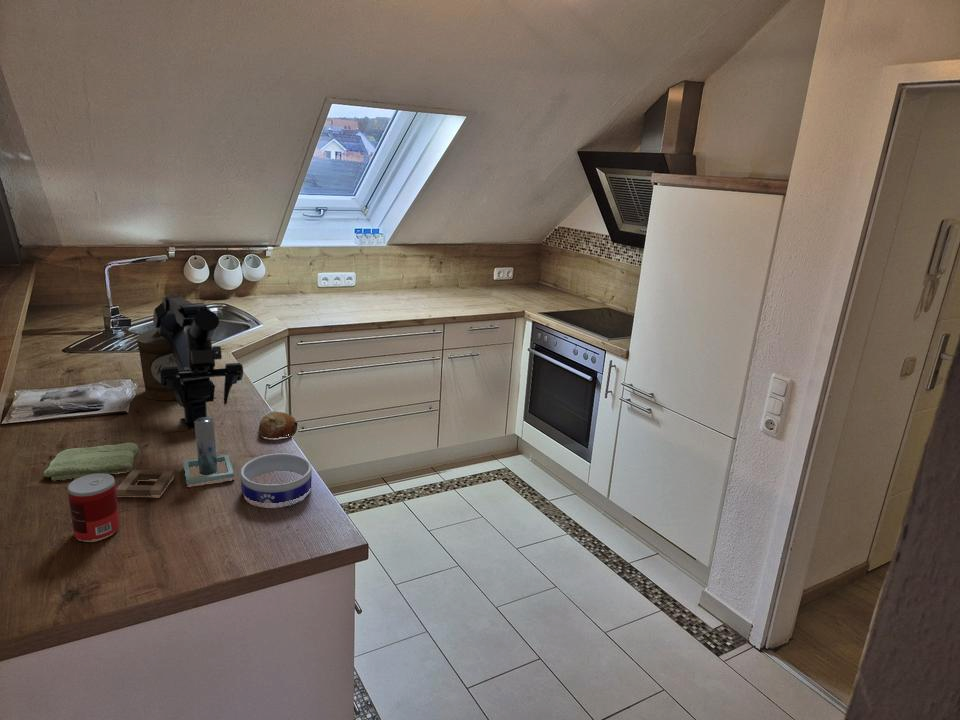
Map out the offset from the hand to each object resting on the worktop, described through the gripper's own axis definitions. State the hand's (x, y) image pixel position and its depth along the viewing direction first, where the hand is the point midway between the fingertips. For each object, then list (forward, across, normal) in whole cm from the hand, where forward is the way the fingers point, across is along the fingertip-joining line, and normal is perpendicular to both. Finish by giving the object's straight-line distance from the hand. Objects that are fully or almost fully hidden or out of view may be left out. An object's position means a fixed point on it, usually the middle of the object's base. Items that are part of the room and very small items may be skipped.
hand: (205, 406), depth 157 cm
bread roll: (+5, +18, +14) cm, 24 cm away
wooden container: (-21, -6, +42) cm, 47 cm away
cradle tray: (+17, -1, 0) cm, 17 cm away
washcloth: (+9, -25, +10) cm, 28 cm away
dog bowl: (+26, +13, -9) cm, 30 cm away
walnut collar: (+18, -14, -1) cm, 23 cm away
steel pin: (+16, -1, 0) cm, 16 cm away
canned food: (+29, -22, -13) cm, 39 cm away
